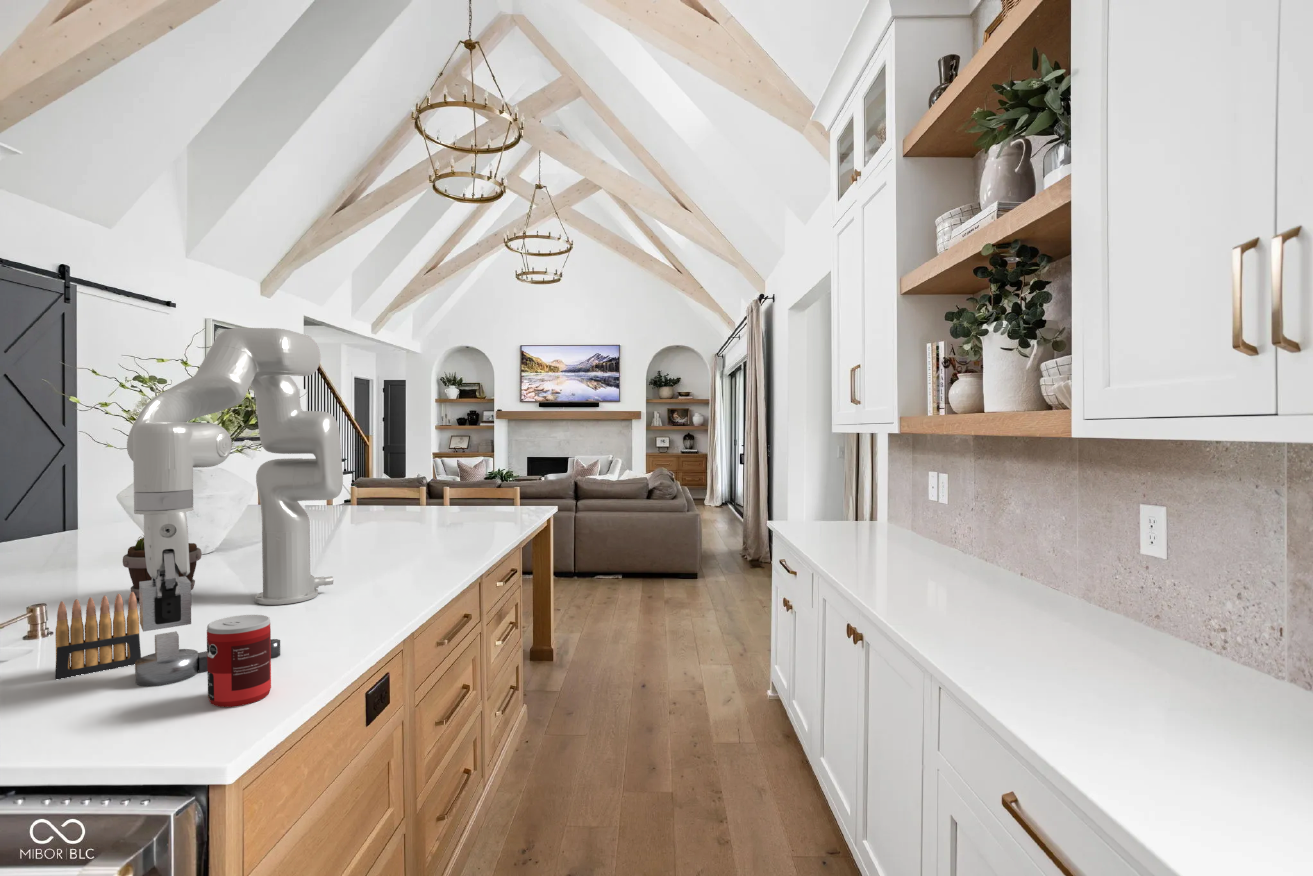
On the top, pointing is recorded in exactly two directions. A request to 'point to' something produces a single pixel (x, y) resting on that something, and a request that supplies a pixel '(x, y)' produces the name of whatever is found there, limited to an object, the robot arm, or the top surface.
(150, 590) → the socket
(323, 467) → the robot arm
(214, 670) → the canned food
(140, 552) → the flowerpot
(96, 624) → the ammunition clip
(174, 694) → the top surface
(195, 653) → the ratchet
